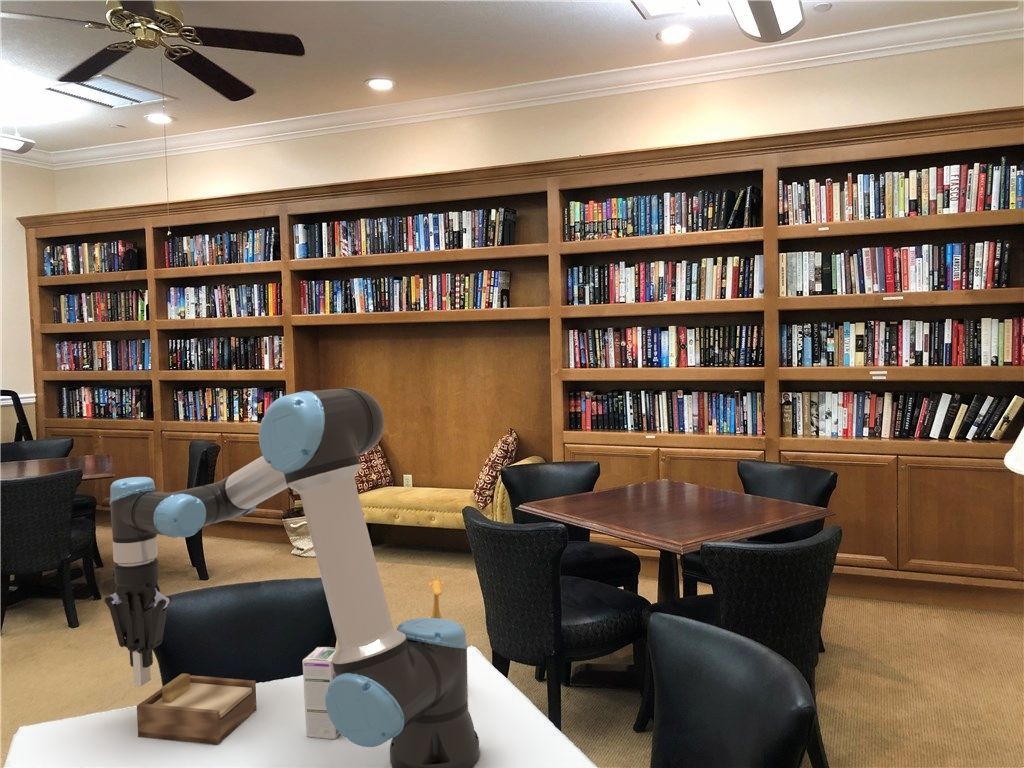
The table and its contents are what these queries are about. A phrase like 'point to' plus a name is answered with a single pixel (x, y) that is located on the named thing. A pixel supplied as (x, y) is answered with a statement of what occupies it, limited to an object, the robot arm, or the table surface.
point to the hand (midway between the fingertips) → (142, 682)
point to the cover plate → (201, 695)
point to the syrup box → (318, 692)
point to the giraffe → (436, 597)
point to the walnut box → (194, 716)
